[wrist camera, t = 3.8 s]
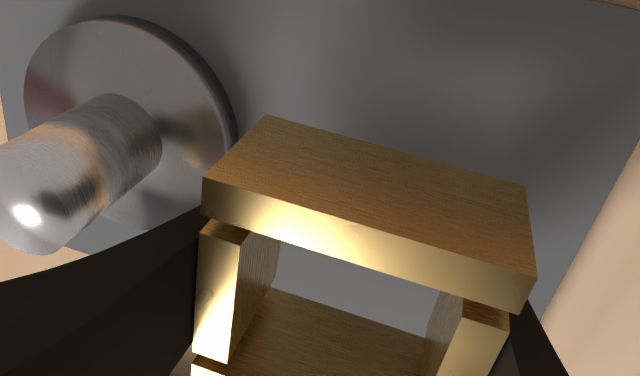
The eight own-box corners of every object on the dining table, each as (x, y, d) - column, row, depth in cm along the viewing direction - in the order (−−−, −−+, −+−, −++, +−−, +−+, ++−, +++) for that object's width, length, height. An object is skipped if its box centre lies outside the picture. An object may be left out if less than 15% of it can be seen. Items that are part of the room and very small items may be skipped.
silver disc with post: (248, 46, 14) (144, 113, 9) (230, 237, 17) (146, 350, 13) (35, -9, 15) (-146, 30, 10) (58, 183, 18) (-73, 271, 14)
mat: (693, 21, 11) (701, 26, 11) (499, 379, 17) (499, 391, 17) (-23, -137, 14) (-39, -138, 13) (33, 225, 20) (23, 232, 20)
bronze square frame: (525, 186, 10) (537, 277, 8) (444, 368, 13) (434, 477, 11) (266, 113, 11) (202, 176, 9) (242, 300, 14) (190, 387, 12)
